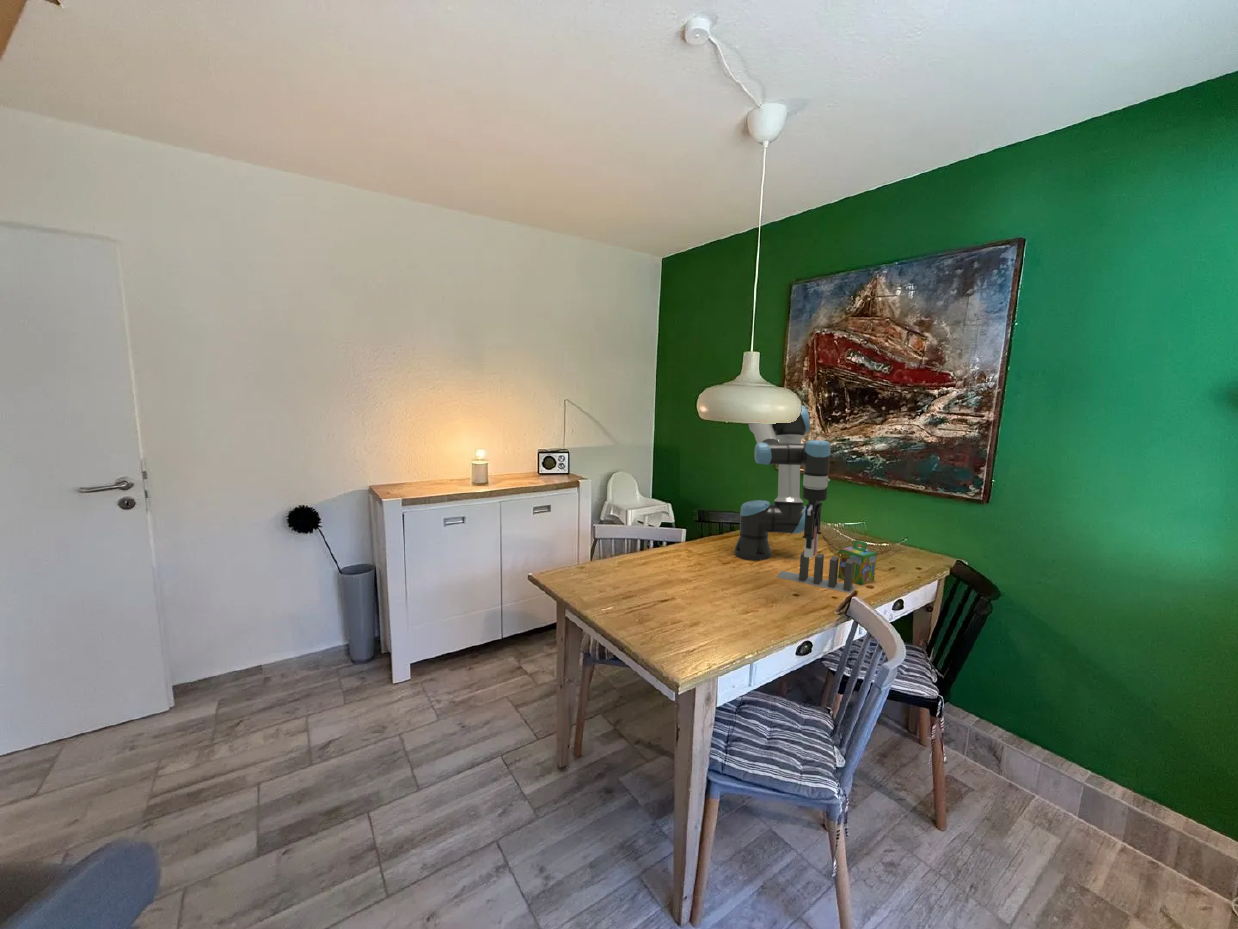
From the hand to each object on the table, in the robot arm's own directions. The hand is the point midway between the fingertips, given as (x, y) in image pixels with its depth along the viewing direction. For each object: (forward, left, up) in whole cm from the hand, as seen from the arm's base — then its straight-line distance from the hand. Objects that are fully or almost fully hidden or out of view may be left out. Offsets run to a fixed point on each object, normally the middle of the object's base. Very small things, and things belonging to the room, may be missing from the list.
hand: (810, 554), depth 160 cm
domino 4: (+5, +13, -14) cm, 20 cm away
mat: (-1, +13, -14) cm, 20 cm away
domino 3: (0, +13, -14) cm, 19 cm away
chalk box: (+11, +25, -15) cm, 31 cm away
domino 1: (-5, +13, -14) cm, 20 cm away
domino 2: (0, 0, 0) cm, 0 cm away
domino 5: (+10, +13, -14) cm, 22 cm away
